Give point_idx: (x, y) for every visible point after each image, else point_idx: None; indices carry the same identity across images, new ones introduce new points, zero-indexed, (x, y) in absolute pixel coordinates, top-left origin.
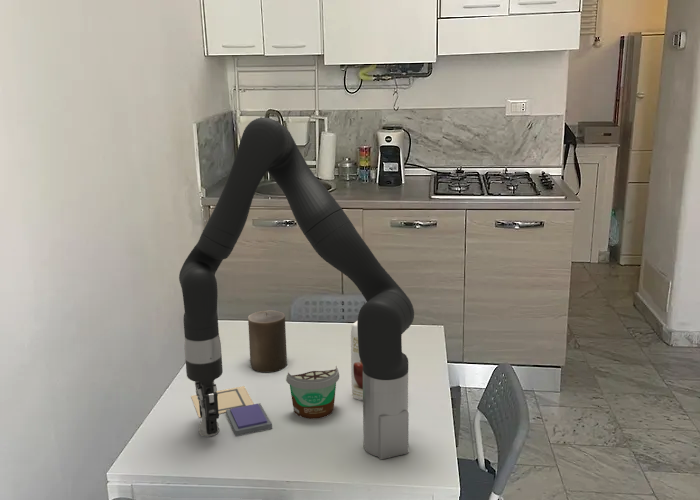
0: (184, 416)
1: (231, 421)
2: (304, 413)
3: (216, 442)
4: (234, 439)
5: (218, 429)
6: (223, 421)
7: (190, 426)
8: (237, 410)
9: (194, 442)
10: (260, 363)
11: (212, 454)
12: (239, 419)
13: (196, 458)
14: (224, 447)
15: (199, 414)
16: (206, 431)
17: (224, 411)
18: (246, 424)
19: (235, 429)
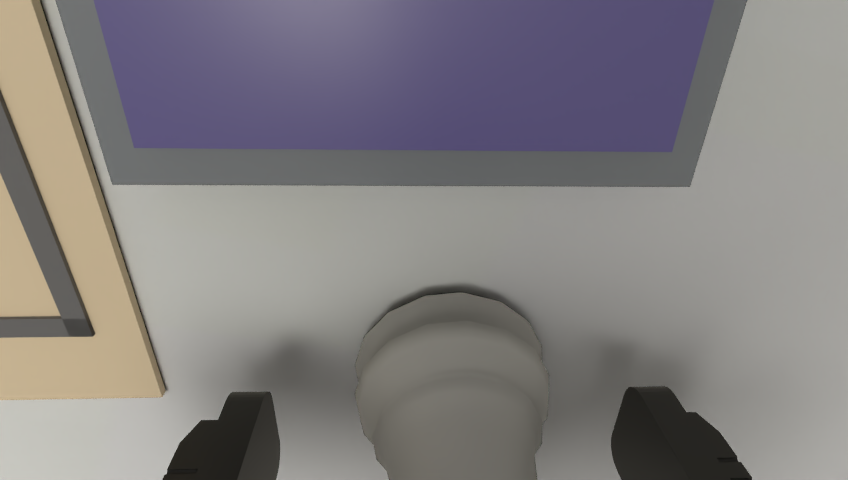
0: (115, 468)
1: (439, 182)
2: None
3: (641, 333)
4: (700, 190)
5: (490, 309)
6: (294, 216)
7: (295, 451)
8: (209, 52)
9: (543, 452)
10: None
11: (782, 380)
12: (495, 91)
13: (746, 461)
14: (760, 293)
15: (110, 389)
16: (622, 469)
17: (71, 170)
18: (689, 27)
19: (649, 179)
